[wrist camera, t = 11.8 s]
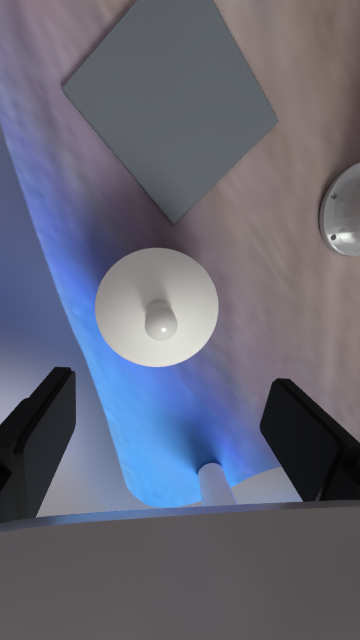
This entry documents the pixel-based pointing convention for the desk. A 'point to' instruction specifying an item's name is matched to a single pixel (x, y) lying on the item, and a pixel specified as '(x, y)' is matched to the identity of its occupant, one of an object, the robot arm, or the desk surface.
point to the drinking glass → (214, 486)
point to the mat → (172, 99)
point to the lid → (156, 307)
